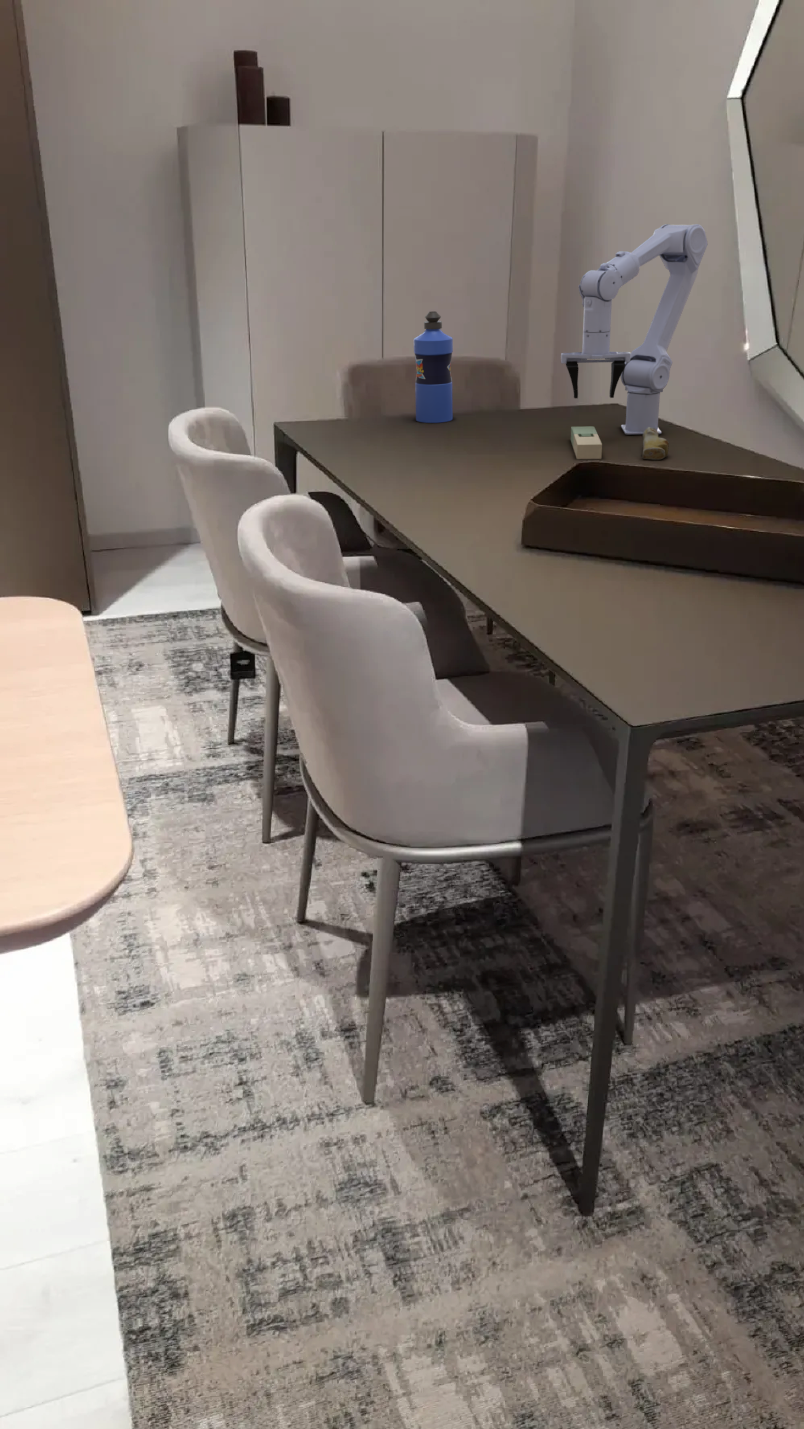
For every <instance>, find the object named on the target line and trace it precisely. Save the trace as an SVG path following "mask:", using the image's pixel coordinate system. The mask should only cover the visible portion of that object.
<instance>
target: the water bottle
mask: <svg viewBox="0 0 804 1429" xmlns="http://www.w3.org/2000/svg"><path fill="white" fill-rule="evenodd" d="M441 318H442V316H441V315H440V314H439V313H438V311H434V310H433V311H428V313H427V314H426V315H425V316H424V319H425V320H426V321H423V330H424V332H423V333H421V334H419V335H418V336H416V337H415V338H413V353H414V358H415V367H416V375H415V384H414V385H415V388H414V390H415V391H414V392H415V393H414V394H415V421H417V422H418V423H425V424H426V423H428V424H439V423H446V422H447V423H448V422H450V421H452V420H453V419H454V418H453V417H454V416H453V410H454V408H453V378H452V371H451V368H452V357H453V352H454V344H453V342H454V339H453V337H452V336H450V335H448V334H446V333H444V332H443V331H442V328H443V322H442V321H441V320H440V319H441Z"/></svg>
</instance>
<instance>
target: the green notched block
mask: <svg viewBox="0 0 804 1429" xmlns="http://www.w3.org/2000/svg"><path fill="white" fill-rule="evenodd" d="M574 434H578V436H579V437H593V434H598V432H597V430H596V428H595V426H570V442H571V445H572V446H573V442H574Z"/></svg>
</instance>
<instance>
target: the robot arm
mask: <svg viewBox="0 0 804 1429" xmlns="http://www.w3.org/2000/svg"><path fill="white" fill-rule="evenodd" d="M706 233H707V232H706V230H705V228H704V227H703V225H702V224H699V223H694V224H670V223H665V224H662V225H661V226H660V227H658V228H656V229H654V231H653V234H652V235H650V237H649V238H647V239H646V240H645V241H644V242H642V243H641V244H640V245H639V246H637V247H636V248H635V249H633V250H632V251H631V252H630V251H627V250H619V251H617V252H616V253H614V254H615V256H614V257H613V258H612V259H610V260H609V261H607V262H602V263H601V264H600V266H599V267H598V268H597V269H591V270H588V271H586V272H585V274H583V276H582V277H581V278H580V283H579V284H578V293H579V295H580V297H581V305H582V308H583V322H582V323H583V324H582V348H581V349H582V350H581V351H578V352H577V351H575V352H561V353H560V364H562V365H563V364H564V365H565V367H566V369H567V371H568V374H569V378H570V381H571V386H572V390H573V399H578V398H579V384H578V382H579V364H587V363H588V364H589V363H593V364H594V363H597V364H598V363H610V366H611V367H610V386H609V398H610V399H614V397H615V393H616V389H617V385H618V383H619V380H620V381H621V383H622V385H623V386H624V391H627V393H626V394H627V395H626V409H625V414H626V415H625V424H621V425H620V427H621V429H622V431H623V434H624V435H643V432H644V431H645V430H646V429H647V428H648V427H652V428H655V429H656V430H657V432H658V433H659V434H658V435H662V430H661V429H660V428H659V416H660V415H659V414H660V402H661V401H660V400H661V393H663V392H664V389H665V388H666V386H667V385H668V383H669V381H670V372H671V368H672V365H673V360H672V358H671V357H670V355H669V353H668V348H669V346H670V344H671V341H672V339H673V336H674V334H675V331H676V329H677V326H678V324H679V321H680V319H681V316H682V314H683V312H684V309H685V306H686V304H687V301H688V300H689V296H690V294H691V291H692V289H693V286H694V284H695V282H696V279H697V276H698V272H699V267H700V265H701V262H702V260H703V257H704V255H705V252H706V250H707V247H708V238H707V234H706ZM657 257H659V258H660V260H661V262H662V264H663V266H664V267H665V269H666V270H668V272H669V278H668V279H667V282H666V285H665V288H664V290H663V291H662V292H663V293H662V295H661V297H660V300H659V303H658V305H657V307H656V310H655V312H654V315H653V317H652V321H651V323H650V325H649V328H648V331H647V332H646V335H645V338H644V341H643V343H641V345H639V346H637V347H636V348H634V349H633V350H631V352H630V351H610V348H611V347H610V346H611V328H612V327H611V325H612V307H613V300H614V299H615V298H616V297H617V295H618V293H619V290H620V289H621V288H622V287H623V286H624V285H626V284H627V283H629V282H630V281H631V280H633V279H634V278H635V277H637V276H638V274H639V272H640V268H641V267H642V266H645V265H646V264H647V263H649V262H650V261H653V260H654V259H655V258H657Z"/></svg>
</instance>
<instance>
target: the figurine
mask: <svg viewBox="0 0 804 1429" xmlns="http://www.w3.org/2000/svg"><path fill="white" fill-rule="evenodd" d="M659 435H660V434H659V433H658V432H657V430H656V429H655V428H652V427H648V428H647V429H646V430H645V431H644V432H643V434H642V456H641V457H642V458H643V459H644V460H653V461H660V460H663V459H664V458H666V457H668V454H669V447H670V443H669V441H668V440H667V439H666V438H664V437H659Z"/></svg>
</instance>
